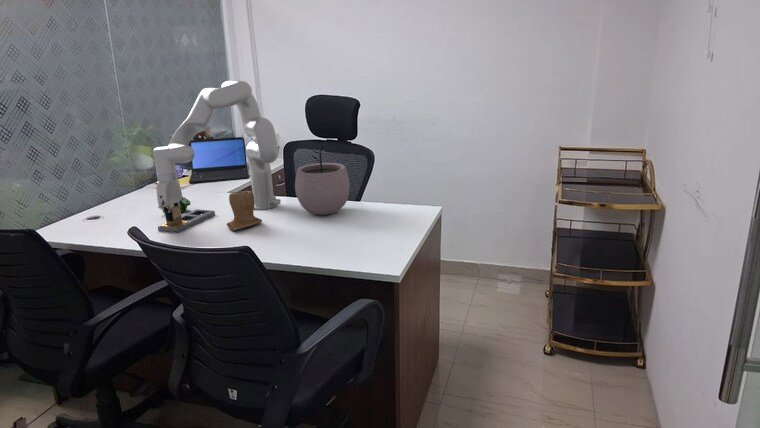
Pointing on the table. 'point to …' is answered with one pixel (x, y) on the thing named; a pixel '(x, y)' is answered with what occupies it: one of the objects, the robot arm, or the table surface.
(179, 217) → the peg
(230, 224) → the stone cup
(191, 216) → the grey slotted board
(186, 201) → the green toy truck
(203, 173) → the laptop
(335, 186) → the plant pot
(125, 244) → the table surface
